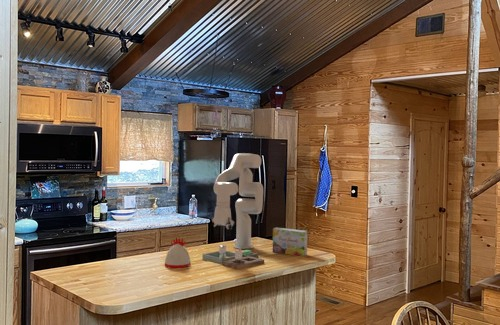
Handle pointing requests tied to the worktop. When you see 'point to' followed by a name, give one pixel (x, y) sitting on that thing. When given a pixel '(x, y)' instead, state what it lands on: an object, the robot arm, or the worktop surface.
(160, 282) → the worktop surface
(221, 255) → the billet
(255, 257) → the button console
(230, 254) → the tote
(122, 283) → the worktop surface
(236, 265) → the board
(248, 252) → the button
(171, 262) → the kitchen timer
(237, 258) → the cylinder
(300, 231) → the snack box
